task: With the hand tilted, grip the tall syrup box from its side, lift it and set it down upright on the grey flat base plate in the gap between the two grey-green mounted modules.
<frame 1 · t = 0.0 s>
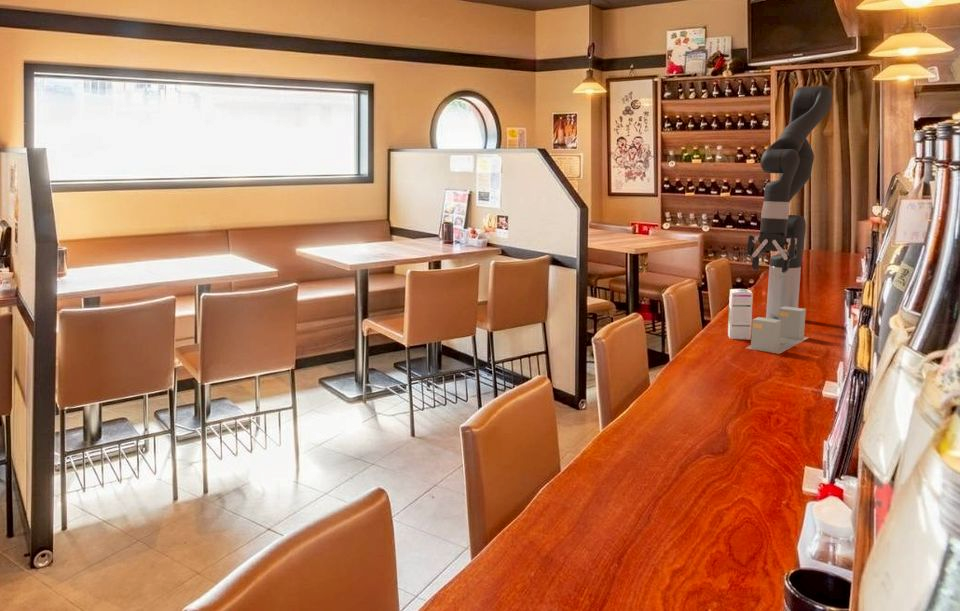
hand: (769, 271, 227), 17 cm above the bar counter, tool pointing down, fingers open, 8 cm apart
module B: (764, 349, 198), resting on grey flat base plate
grey flat base plate: (777, 346, 205), on the bar counter
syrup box: (738, 341, 213), on the bar counter
module A: (790, 336, 212), resting on grey flat base plate
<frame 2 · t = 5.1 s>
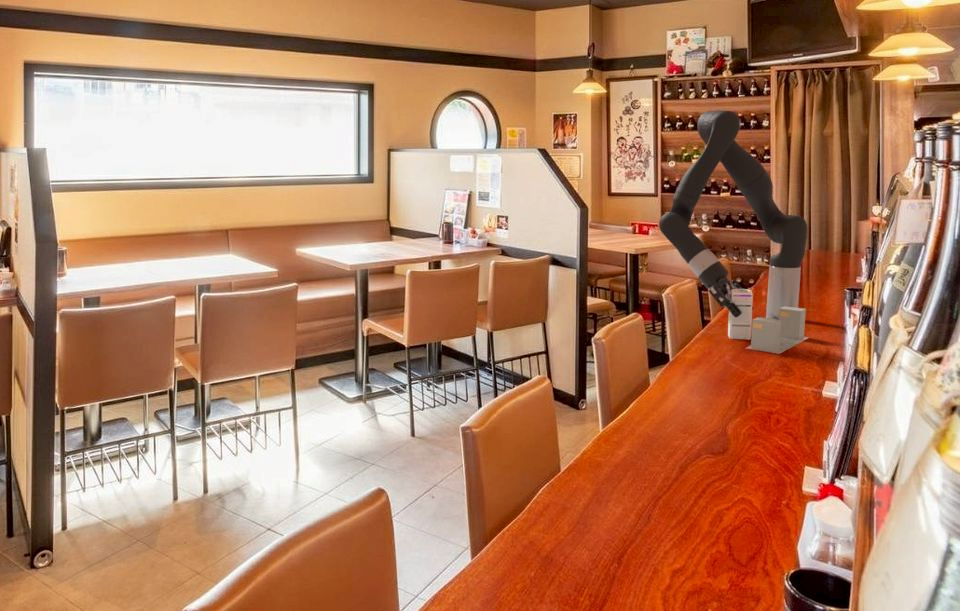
hand: (745, 313, 210), 8 cm above the bar counter, tool tilted 45°, fingers closed on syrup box, 8 cm apart
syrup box: (738, 341, 213), on the bar counter, touching gripper
when the fingers open (13 cm above the bar counter, at t = 12.2 s): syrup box drops 4 cm, resting on grey flat base plate.
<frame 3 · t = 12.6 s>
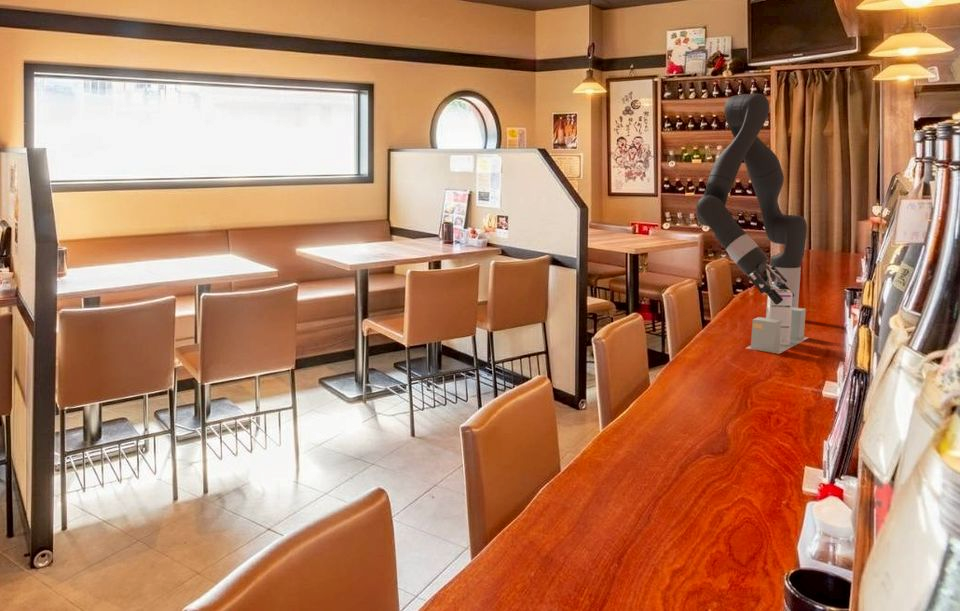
hand: (785, 300, 202), 13 cm above the bar counter, tool tilted 45°, fingers open, 8 cm apart
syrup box: (777, 343, 205), point 1 cm above the bar counter, touching gripper, grey flat base plate
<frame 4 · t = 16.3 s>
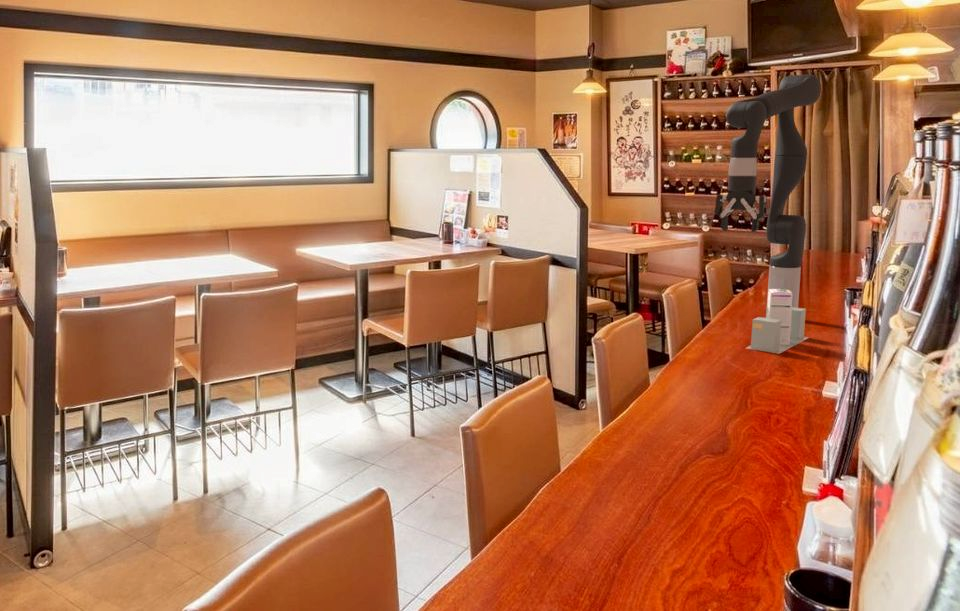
hand: (739, 231, 216), 30 cm above the bar counter, tool pointing down, fingers open, 8 cm apart
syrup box: (777, 343, 205), point 1 cm above the bar counter, touching grey flat base plate
at the end: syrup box inside the target area (0.3 cm from its centre), point 1.0 cm above the bar counter; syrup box tilted 0°; the gripper is holding nothing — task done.
